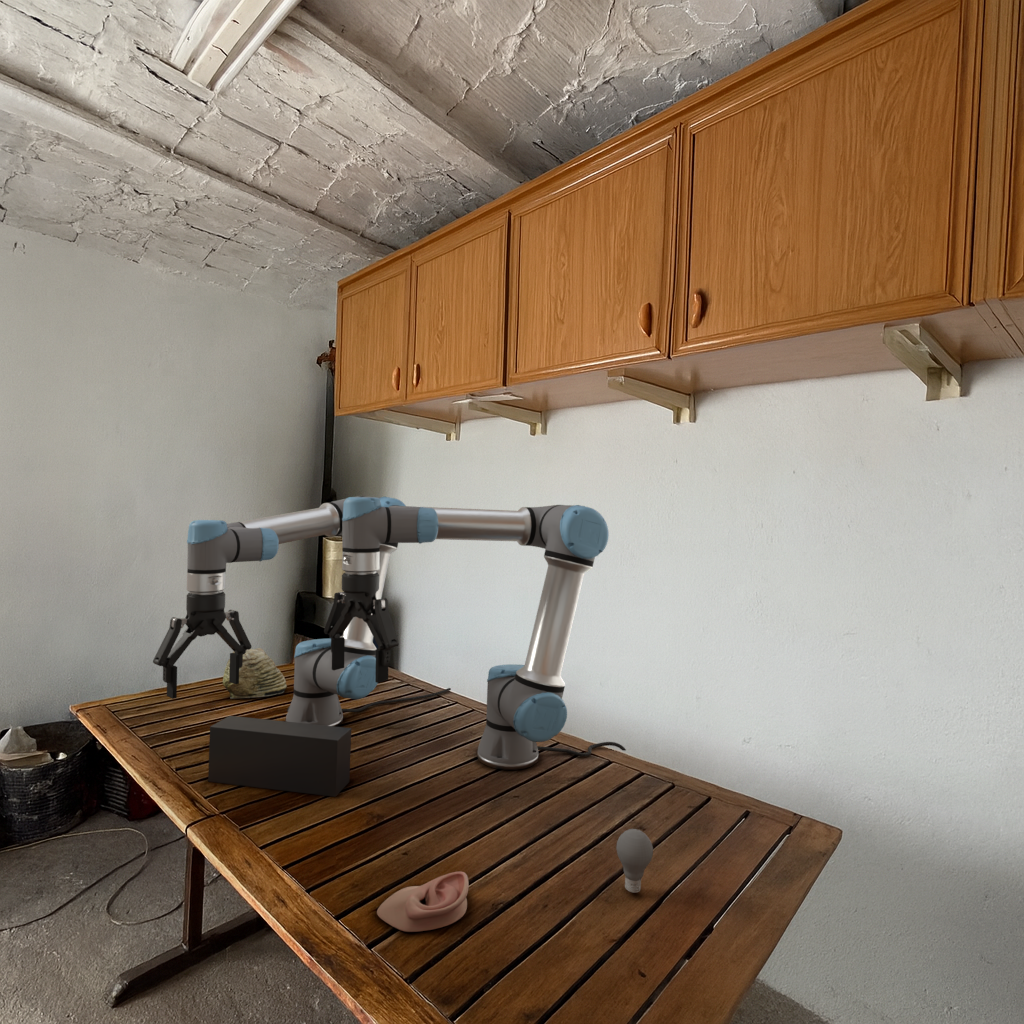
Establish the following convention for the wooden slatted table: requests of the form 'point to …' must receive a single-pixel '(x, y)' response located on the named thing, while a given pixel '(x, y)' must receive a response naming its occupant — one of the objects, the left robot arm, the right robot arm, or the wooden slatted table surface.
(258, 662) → the fossil
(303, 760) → the box
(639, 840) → the light bulb
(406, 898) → the anatomical model
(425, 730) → the wooden slatted table surface
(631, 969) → the wooden slatted table surface
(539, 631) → the right robot arm
